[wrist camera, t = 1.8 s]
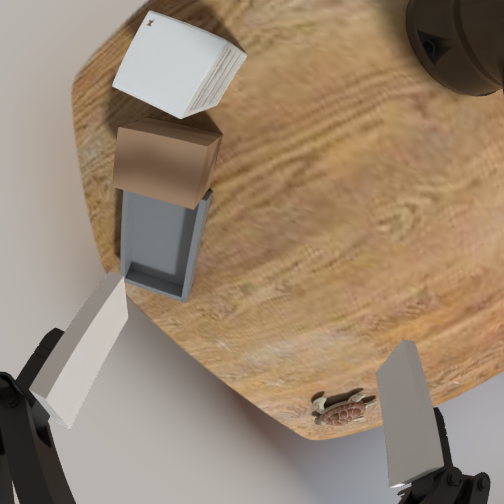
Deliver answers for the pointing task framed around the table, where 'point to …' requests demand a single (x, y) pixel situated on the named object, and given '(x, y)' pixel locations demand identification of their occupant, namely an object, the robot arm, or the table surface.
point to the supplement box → (177, 66)
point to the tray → (161, 243)
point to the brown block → (165, 160)
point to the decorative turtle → (341, 410)
